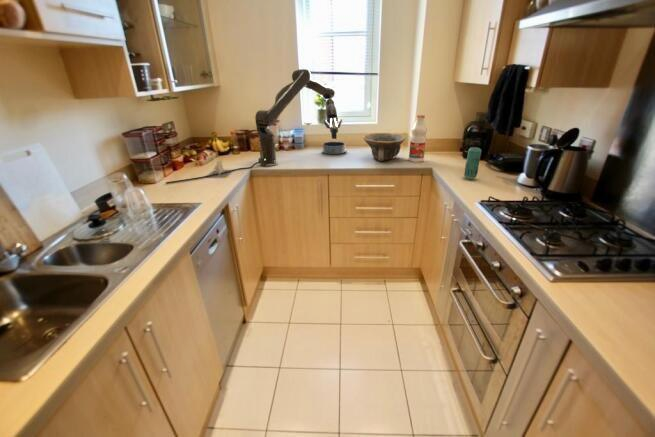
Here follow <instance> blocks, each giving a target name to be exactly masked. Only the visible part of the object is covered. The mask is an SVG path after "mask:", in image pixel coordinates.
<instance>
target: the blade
mask: <svg viewBox="0 0 655 437" xmlns="http://www.w3.org/2000/svg"><path fill="white" fill-rule="evenodd" d="M332 130H333V133H331V139H332V140H337V133H336V128H335V124H334V123H333V125H332Z"/></svg>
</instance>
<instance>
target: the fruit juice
mask: <svg viewBox="0 0 655 437" xmlns="http://www.w3.org/2000/svg"><path fill="white" fill-rule="evenodd" d="M425 118H426V117H425V114H417V115H416V120H415V122H414V125H413V126H412V128H411V136H410V140H409V152H408V160H409V161H410V162H413V163H421V162H423V161H424V160H425V152H426V143H427V136H426V134H427V132H428V129H427V126H426V123H425Z"/></svg>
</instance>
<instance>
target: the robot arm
mask: <svg viewBox="0 0 655 437" xmlns="http://www.w3.org/2000/svg"><path fill="white" fill-rule="evenodd" d="M291 79H292V82H290V83H289V84H287V85H285V86H283V87H282V88H281V89H280V90H279V91H278V92H277V94H276V95H275V98H274V104H273V106H271V107H270V108H269V109H268V110H267V109H266V110H263V109H260V110H257V111H256V112H255V116H254V120H255V126H256V133H257V135H258V138H259V148H260V149H259V157H258V158H257V161H256V162H255V163H253V164H252V165H251V166H248V167H239V168H235V169H229V170H230V171H226V172H222V173H220V174H223V173H227V172H231V171H232V172H234V171H240V170H248V169H252V168H253V167H254V166H256V165H257V164H260V165H261V166H263V167H272V166H273V167H274V166H276V165H277V164H278V161H277V153H276V152H277V151H276V141H275V133H274V131H272V130H271V129H270V128H269V127H272V126H273V125H274V124H276V122H277V120H278V119H279V117H280V115H282V113H283V112H284V111H285V109H286V108H287V107H288V106H289V105H290V104H291V102H292V101H293V100H294V99H295V97H296V96H297V95H298V94H299V93H300V92H301V91H302V90H303V89H304V88H306V89H309V90H311V91H313V93H314V92H315V93H316V94H318V95H319V96H321V98H322V100H323V102H324V104H325V113H326V119H324V120H323V124H324V126H325V127H326V128H327V129H329V133H331V134H332V133H333V130H332V128H333V123H334V124H335V128H336V134H338V133H339V129H340V128H341V125H342V123H343V119H342V118H341V119H339V118H338V113H337V108H336V102H335V100H334V99H333V98H334V97H335V96H336V89H335V88H333V87H332V86H329V85H324V84H323V83H321V82H320V81H317V80H314V79H312V74H311V72H310V70H309V69H306V68H302V69H295V70H294V71H292V74H291ZM232 172H231V173H232ZM215 175H219V174H213V175H210V174H208V175H203V176H198V177H191V178H186V179H177V180H172V181H165V184H166V185H167V184H173V183H180V182H187V181H192V180H198V179H205V178H211V177H210V176H215Z"/></svg>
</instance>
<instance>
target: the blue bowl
mask: <svg viewBox="0 0 655 437" xmlns="http://www.w3.org/2000/svg"><path fill="white" fill-rule="evenodd" d="M346 150H347V145H346V142H343V141H327V142H323V143H322V152H323V153H324V154H327V155H341V154H344V153H346Z"/></svg>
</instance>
